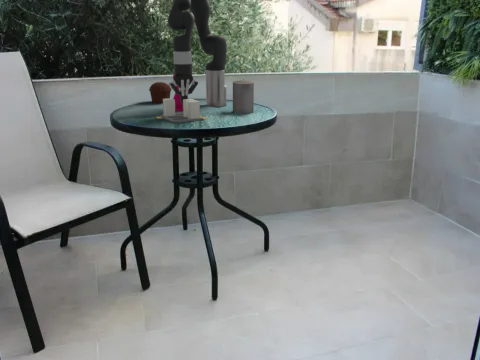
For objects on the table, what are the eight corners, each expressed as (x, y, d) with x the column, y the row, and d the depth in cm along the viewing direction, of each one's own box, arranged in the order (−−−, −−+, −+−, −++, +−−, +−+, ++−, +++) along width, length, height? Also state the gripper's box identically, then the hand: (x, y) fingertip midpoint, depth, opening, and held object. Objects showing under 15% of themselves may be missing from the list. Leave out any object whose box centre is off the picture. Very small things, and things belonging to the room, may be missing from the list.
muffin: (176, 101, 238) (176, 82, 235) (162, 104, 229) (161, 84, 226) (159, 99, 244) (158, 80, 241) (144, 102, 235) (143, 82, 232)
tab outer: (196, 118, 192) (196, 100, 190) (199, 119, 190) (199, 101, 187) (187, 119, 191) (187, 101, 188) (190, 120, 188) (190, 102, 185)
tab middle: (192, 116, 196) (191, 98, 194) (195, 117, 194) (194, 99, 191) (183, 117, 195) (183, 99, 192) (186, 118, 192) (186, 100, 189)
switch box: (196, 115, 204) (196, 111, 203) (210, 121, 191) (210, 117, 191) (152, 119, 195) (152, 115, 194) (165, 126, 182) (164, 121, 182)
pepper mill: (191, 111, 214) (190, 67, 207) (184, 113, 207) (183, 68, 201) (177, 110, 216) (175, 66, 209) (170, 112, 209) (168, 67, 203)
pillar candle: (236, 109, 219) (236, 77, 214) (256, 110, 216) (256, 78, 211) (229, 113, 211) (229, 79, 206) (249, 114, 208) (250, 80, 203)
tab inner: (172, 115, 197) (171, 98, 195) (175, 117, 194) (174, 99, 192) (163, 116, 195) (162, 98, 193) (166, 117, 193) (165, 100, 190)
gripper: (194, 61, 197) (195, 101, 203) (164, 62, 191) (166, 104, 197) (201, 62, 191) (202, 104, 197) (170, 63, 185) (172, 106, 191)
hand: (184, 104), depth 197 cm, fingers closed
